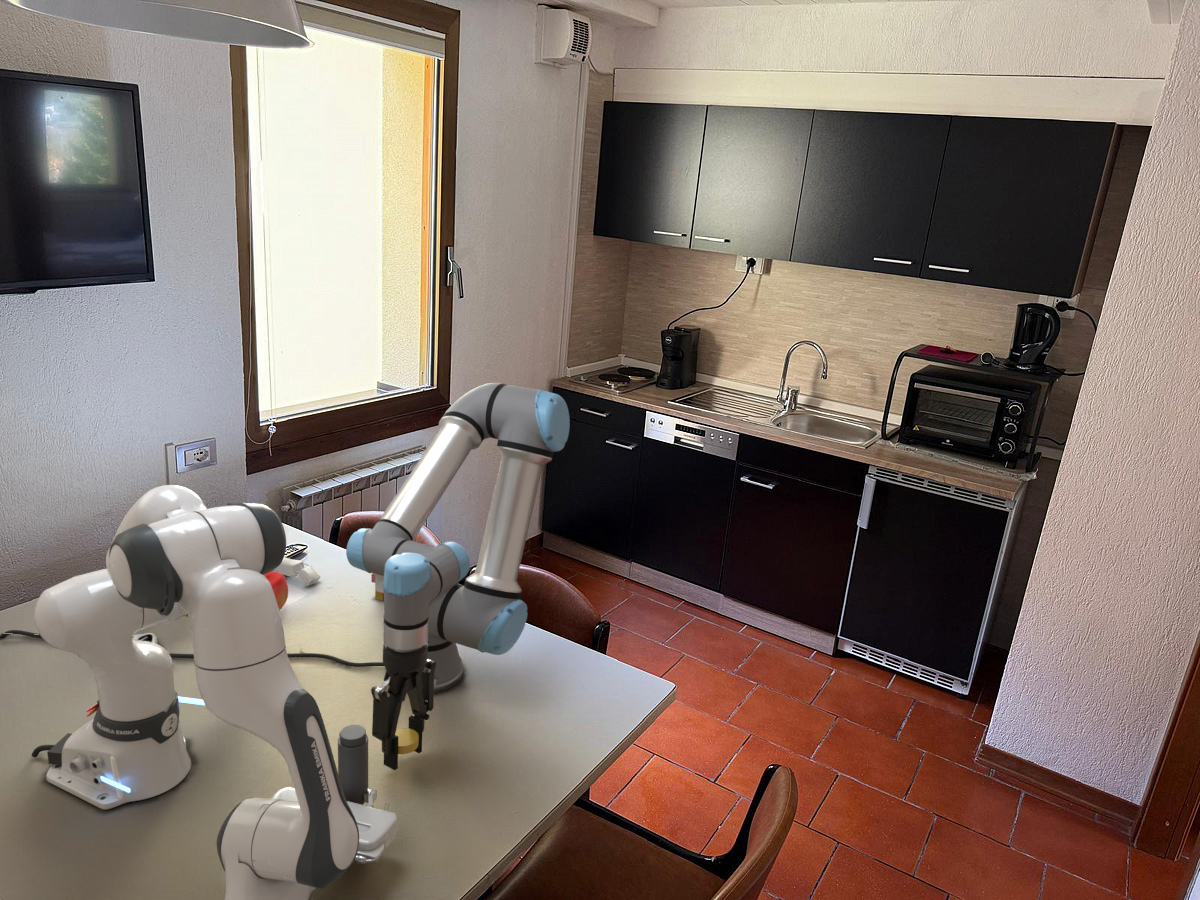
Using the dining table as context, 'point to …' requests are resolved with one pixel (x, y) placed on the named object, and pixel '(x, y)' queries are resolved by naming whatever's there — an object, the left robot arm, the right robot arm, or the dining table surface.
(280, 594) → the apple
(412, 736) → the lid
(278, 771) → the dining table surface
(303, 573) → the white elongated piece
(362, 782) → the dark grey cylinder
